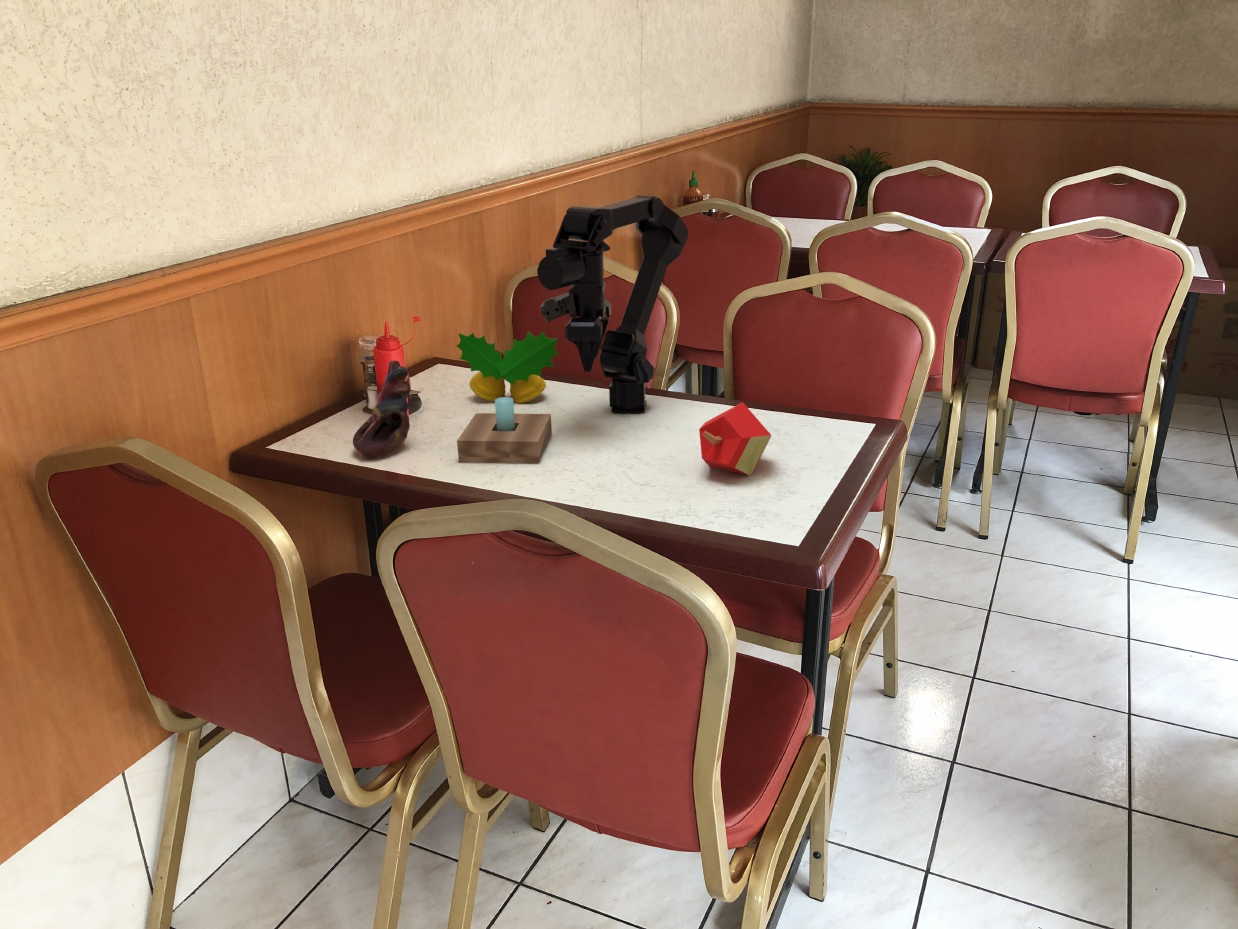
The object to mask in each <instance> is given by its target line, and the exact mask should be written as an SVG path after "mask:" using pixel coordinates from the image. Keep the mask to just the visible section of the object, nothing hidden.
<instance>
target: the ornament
mask: <svg viewBox="0 0 1238 929" xmlns="http://www.w3.org/2000/svg"><path fill="white" fill-rule="evenodd" d="M458 337H459V340H460V341H459V343H458V344H456V345H455V347H457V348H458V349H459V350H460V351H461V353H462V354H461V355H460V357H459V360H461V361H464V362H467V363H468V364H469V365H470V372H477V373H475V375H473V376H472V377H471V378H470V381H469V388H470V389H471V390H472V393H474V394H475V395H476V396H477V397H479V398H480V399H483V400H485V401H489V402H495V399H497V398H501V397H506V383H505V382H507V383H509V386H510V388H509V393H510V398H513V403H515V402H516V403H515V404H522V403H523V404H524V403H527V402H530V401H532V400H534V399H536V398H538V397H539V396H540V395H541V394H542V393H543V392H544V391H545V389H546V387H547V382H546V381H545V379H544V378H542V373H541V372H542V370H543V369H544V368H546V367H554V364H553V361H552V358H553V357H555V356H558V355H559V353H558V352H557V351H556V348H555V346H556V343H557V342H558V338H548V337H547V336H546V335H545V333H544V332H543V331H542V332H541V333H540V334H538V336H534V335H533V334H532V333H531V332H530V331H528V332H527V334H526V337H525V339H523V340H519V341H518V339H515V338H513V345H512V349H510V350H508V349H507V350H506V349H503V350H504V351H503V352H502V350H498V349H496V347H495V346H496V342H493V343H488V342H487V339H486V335H485V334H484V335H482V336H481V337H476V335H475V334H474V332H471V333H470V334H469V335H465V334H463V333H461V332H458Z"/></svg>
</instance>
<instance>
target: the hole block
mask: <svg viewBox="0 0 1238 929" xmlns="http://www.w3.org/2000/svg"><path fill="white" fill-rule="evenodd" d="M514 419H515V431H497V423H496V412H495V413H493V412H492V413H491V412H489V413H487V412H476V413H475V414H474V416H472V418H471V419H470V421H469V423H468V424H467V425H466V427H465V428H464V430H463V431H462V433H461V434H460V435H459V437H458V438H457V439H456V445H457V455H458V456H457V457H458V463H477V464H479V463H481V464H482V463H486V464H487V463H489V464H536V465H537V464H540V462H541V459H542V457H543V456H544V452H545V451H546V449H547V446H548V444H549V442H550V441H551V438H552V435H553V430H552V429H553V427H552V426H553V425H552V413H514Z"/></svg>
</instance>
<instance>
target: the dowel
mask: <svg viewBox="0 0 1238 929" xmlns="http://www.w3.org/2000/svg"><path fill="white" fill-rule="evenodd" d="M514 403H515V402H513V398H511V397H509V396H504V397H501V398H497V399H495V401H494V407H495V408H494V409H495V413H496V423H497V431H515V419H514V414H515V407H514V405H515V404H514Z"/></svg>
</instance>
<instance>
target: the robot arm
mask: <svg viewBox="0 0 1238 929" xmlns="http://www.w3.org/2000/svg"><path fill="white" fill-rule="evenodd" d="M635 223H636V225H635V226H636V229H637V231H638V233H640V235H641V238H640V246H641V251H642V256H643V257H642V261H641V264H640V266H639V269H638V273H637V275H636V278H635V281H634V284H633V286H632V290H631V293H630V295H629V298H628V302H627V304H626V307H625V311H624V313H623V315H622V319H621V322H620V324H619V326H618V327H617V328H615V330H613V329H608V325H609V323H610V319H611V315H612V304H611V302H609V300H608V299H606V298H605V289H606V282H605V280H604V279H605V277H604V276H605V274H604V272H605V270H604V253H605V252H607V251H610V250H611V246H610V245H609V244H608V243H606V242H605V241H604V240H606V239H608V238H609V237H611V236H612V235H613V233H614V231H615V230H616V229H619V228H623V227H626V226H628V225H632V224H633V225H634V224H635ZM688 236H689V230H688V227H687V226H686V224H685V222H684V220H683V219H682V218H681V217H680V215H679V214H678V213H676V212H675V211H673V210H672V209H671V208H669V207H668V206H667V205H665V203H664V202H663V200H662V199H661V198H659V197H658V196H656V195H654V196H653V195H643V194H642V195H639V194H638V195H637V196H635V197H633V198H632V197H631V198H629V199H625V200H620V201H617V202H614V203H611V204H610V203H609V204H607V205H604V206H582V205H581V206H580V205H579V206H577V205H574V206H573V205H572V206H570V207H568V208H567V209H566V211H565V214H564V215H563V219H562V221H561V223H560V226H559V229H558V231H557V234H556V236H555V239H554V241H553V244H552V248H546V249H545V256H543V258H541V259H540V261H539V263H538V266H537V269H536V273H537V277H538V280H539V282H540V284H541V285H542V286H543V287H544V288H545V289H547V290H548V291H549V290H550V291H556V290H559V289H564V288H565V287H569V286H570V287H569V289H568V292H565V293H563V294H560V295H557V296H552V297H551V298H549V299H545V300H543V302H542V303H541V305H540V309H541V316H542V317H544V319H545V321H546V323H550V322H553V321H554V320H555V319H558V318H562V317H564V316H566V315H568V317H569V318H571V319H570V320H569V321H568V322H567V323H566V325H565V327H564V336H565V339H567V340H568V342H571V343H572V344H573V345H575V346H576V348H577V351H578V352H577V353H578V354H579V357H580V358H579V359H580V361H581V366H582V369H583V371H584V372H585V373H590V372H591V371H592V368H593V365H594V362H595V360H596V358H597V356H598V353H599V357H598V359H599V364H600V366H601V369H602V370H601V371H602V374H603V376H604V378H607V379H608V378H609V379H611V383H610V384H609V387H608V390H609V391H608V393H609V394H608V397H609V399H608V400H609V407H610V408H611V410H610V411H611V413H614V414H617V413H618V414H623V413H624V414H644V413H645V412H646V408H647V400H646V383H647V384H648V383H650V382H651V380H653V378H654V372H655V367H654V365H653V364H652V363H651V362H650V361H649V360H648V358H647V352H648V345H647V341H646V338H645V333H646V331H647V327H648V325H649V322H650V318H651V315H652V313H653V311H654V310H653V309H654V307H655V303H656V301H657V298H658V295H659V292H660V290H661V286H662V284H663V280H664V277H665V275H666V271H667V269H668V267H669V266H670V264H671V263H673V262H674V261H676V259H678V257H680V256H681V253H682V252H683V249H684V247H685V245H686V242H687V241H688V239H689V237H688ZM605 314H606V316H604V315H605ZM606 330H607V331H606ZM603 339H604V340H603ZM599 351H600V352H599Z"/></svg>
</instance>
